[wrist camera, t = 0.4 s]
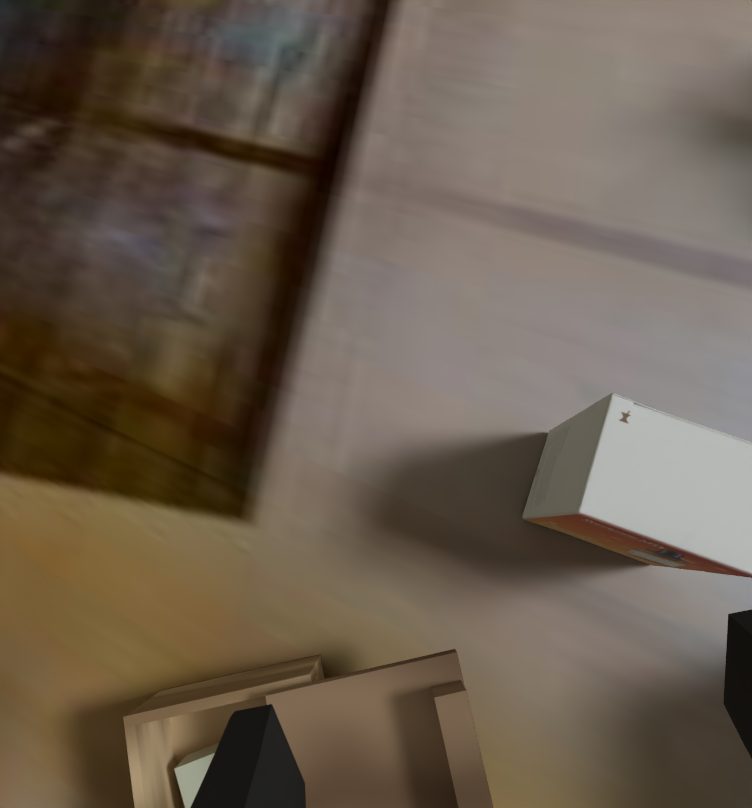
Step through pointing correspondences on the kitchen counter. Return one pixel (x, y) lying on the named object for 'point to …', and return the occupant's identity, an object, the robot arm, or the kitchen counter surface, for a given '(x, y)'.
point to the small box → (648, 487)
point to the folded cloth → (193, 772)
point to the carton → (196, 724)
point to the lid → (386, 737)
